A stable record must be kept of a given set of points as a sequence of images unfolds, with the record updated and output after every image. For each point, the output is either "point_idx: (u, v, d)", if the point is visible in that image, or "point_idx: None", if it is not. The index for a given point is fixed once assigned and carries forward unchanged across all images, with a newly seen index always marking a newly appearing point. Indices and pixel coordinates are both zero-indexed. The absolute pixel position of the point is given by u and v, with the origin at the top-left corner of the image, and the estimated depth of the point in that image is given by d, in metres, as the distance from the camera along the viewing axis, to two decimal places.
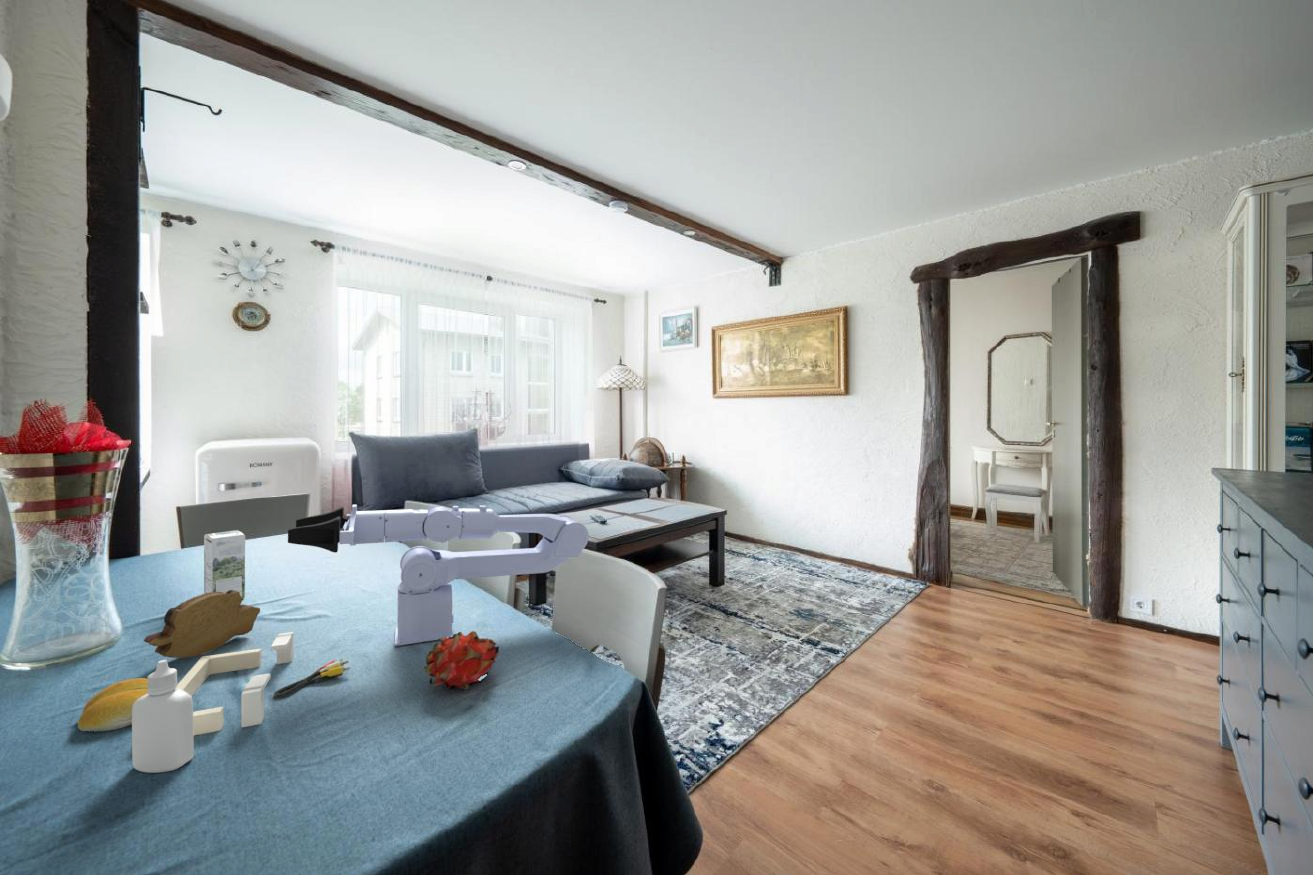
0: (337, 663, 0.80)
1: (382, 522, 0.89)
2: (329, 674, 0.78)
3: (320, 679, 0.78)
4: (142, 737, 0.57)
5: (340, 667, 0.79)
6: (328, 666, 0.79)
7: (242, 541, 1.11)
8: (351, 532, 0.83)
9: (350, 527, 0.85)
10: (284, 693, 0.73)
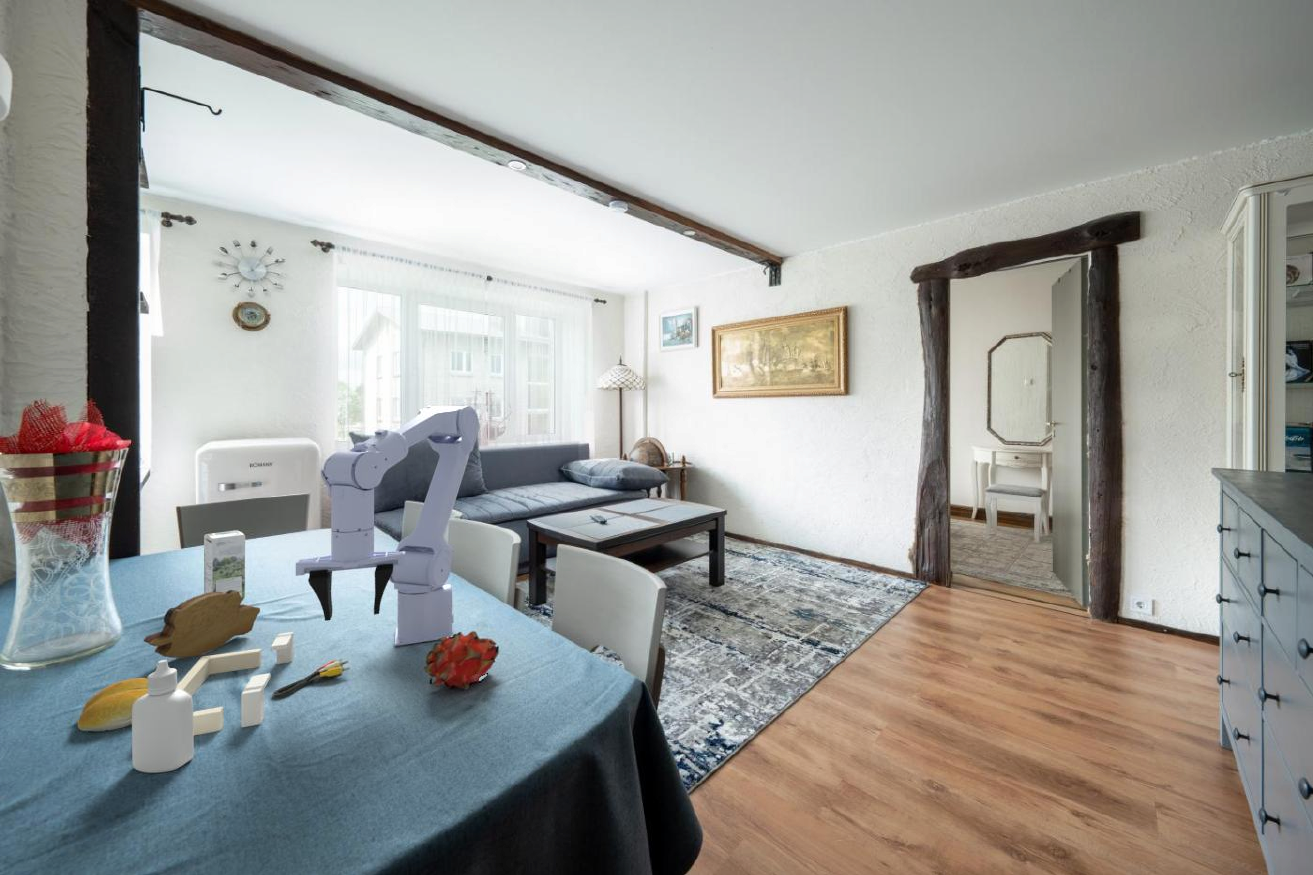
0: (336, 663, 0.79)
1: (371, 530, 0.79)
2: (328, 674, 0.78)
3: (319, 679, 0.78)
4: (142, 737, 0.57)
5: (339, 667, 0.79)
6: (327, 666, 0.79)
7: (242, 541, 1.11)
8: (404, 555, 0.82)
9: (392, 558, 0.81)
10: (283, 693, 0.73)
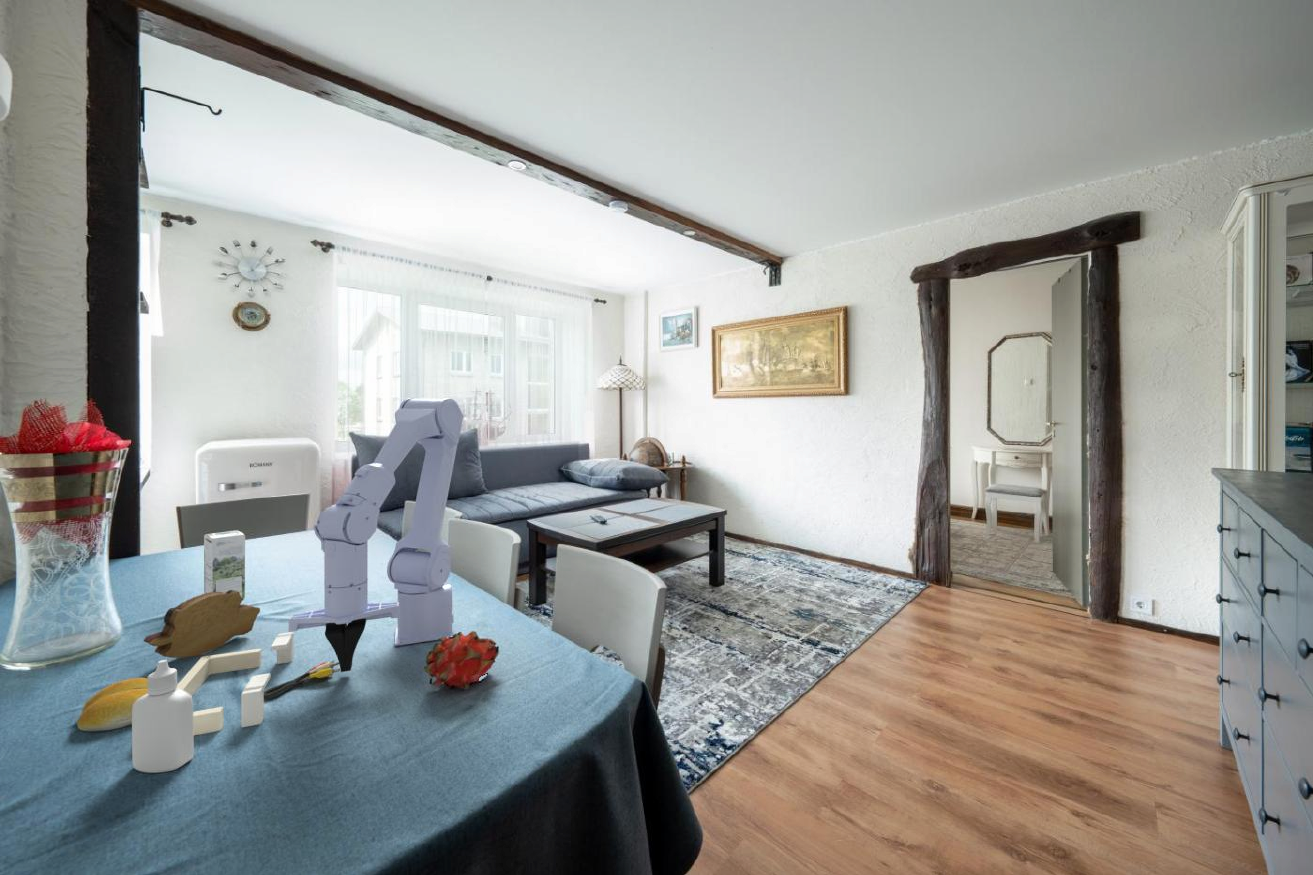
0: (327, 665, 0.79)
1: (364, 584, 0.79)
2: (318, 676, 0.77)
3: (309, 680, 0.77)
4: (142, 737, 0.57)
5: (329, 669, 0.78)
6: (318, 667, 0.78)
7: (242, 541, 1.11)
8: (398, 607, 0.82)
9: (385, 611, 0.81)
10: (271, 694, 0.73)
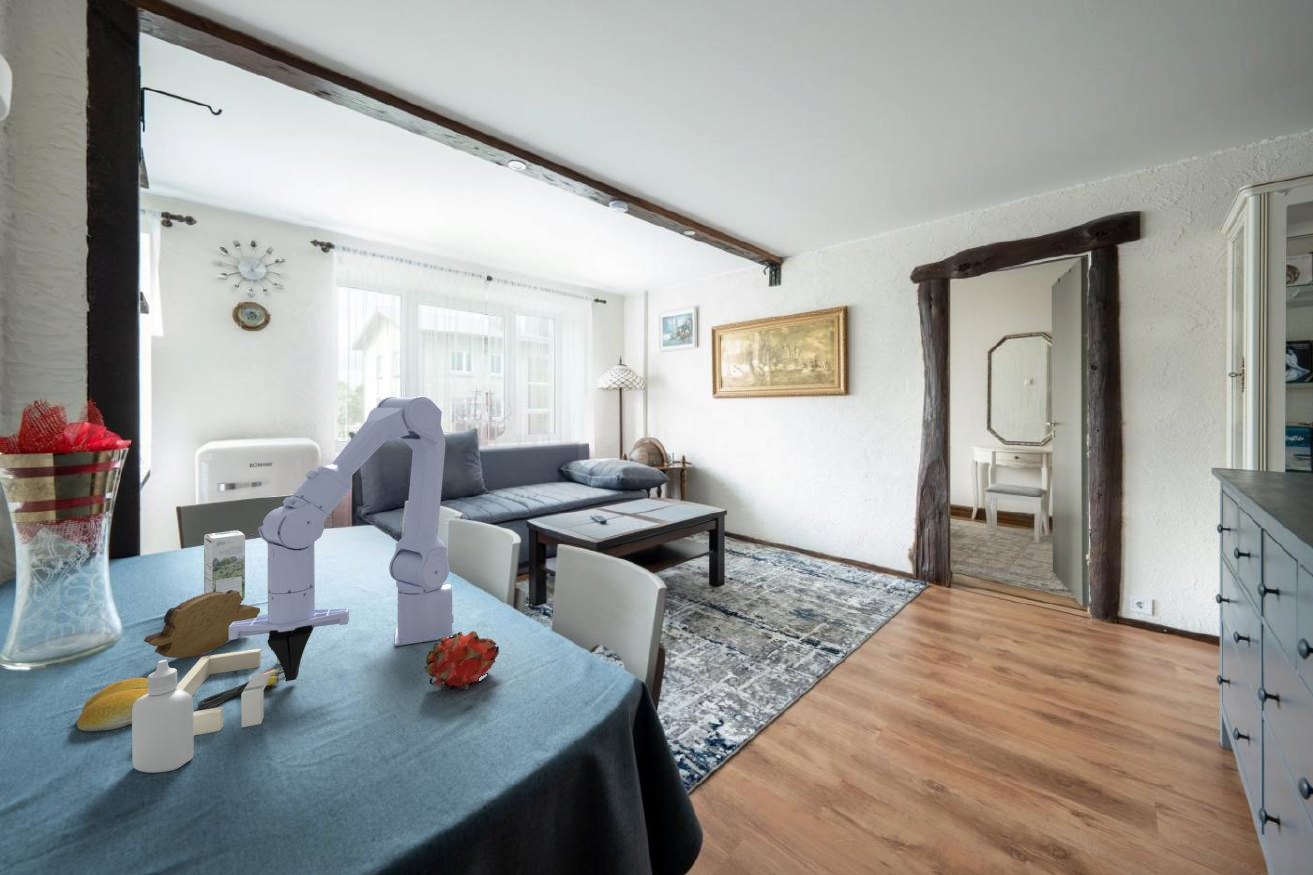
0: (272, 672, 0.76)
1: (310, 590, 0.76)
2: None
3: None
4: (142, 737, 0.57)
5: (273, 677, 0.75)
6: None
7: (242, 541, 1.11)
8: (347, 613, 0.79)
9: (333, 617, 0.78)
10: (208, 703, 0.70)
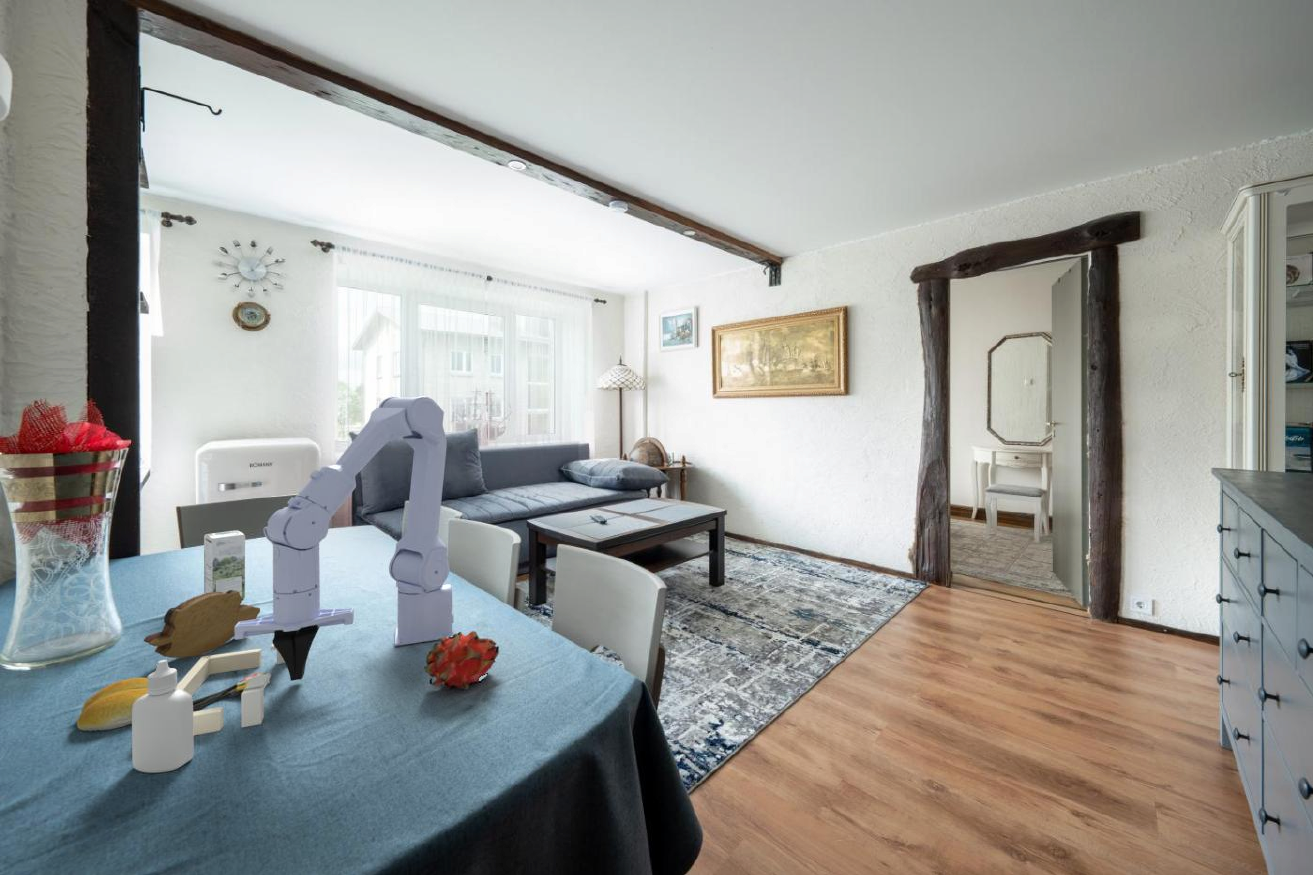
0: None
1: (315, 590, 0.76)
2: None
3: (236, 693, 0.73)
4: (142, 737, 0.57)
5: None
6: (247, 679, 0.74)
7: (242, 541, 1.11)
8: (352, 613, 0.79)
9: (338, 617, 0.78)
10: None
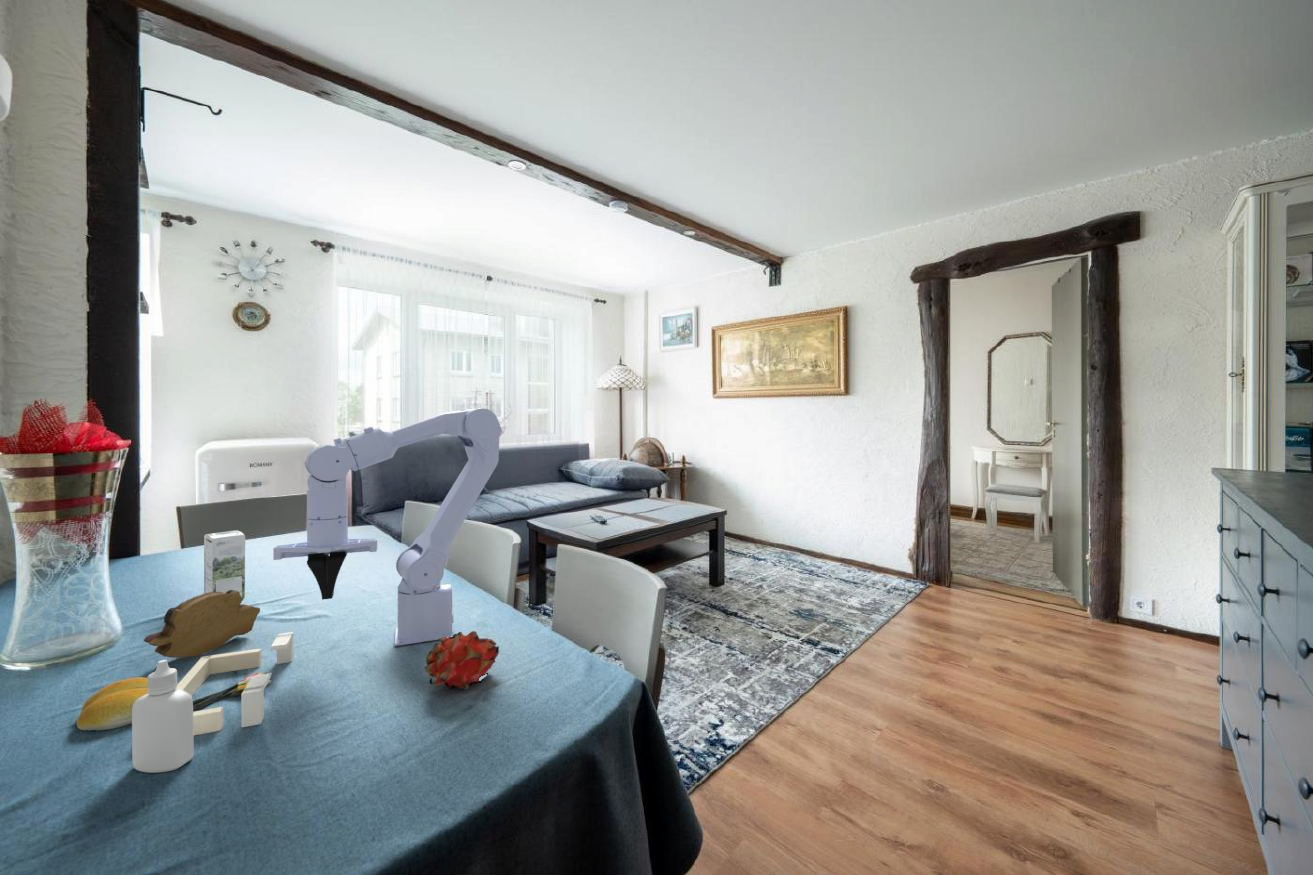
0: None
1: (344, 519, 0.85)
2: None
3: (237, 692, 0.74)
4: (142, 737, 0.57)
5: None
6: (247, 679, 0.75)
7: (242, 541, 1.11)
8: (376, 541, 0.88)
9: (364, 545, 0.87)
10: None
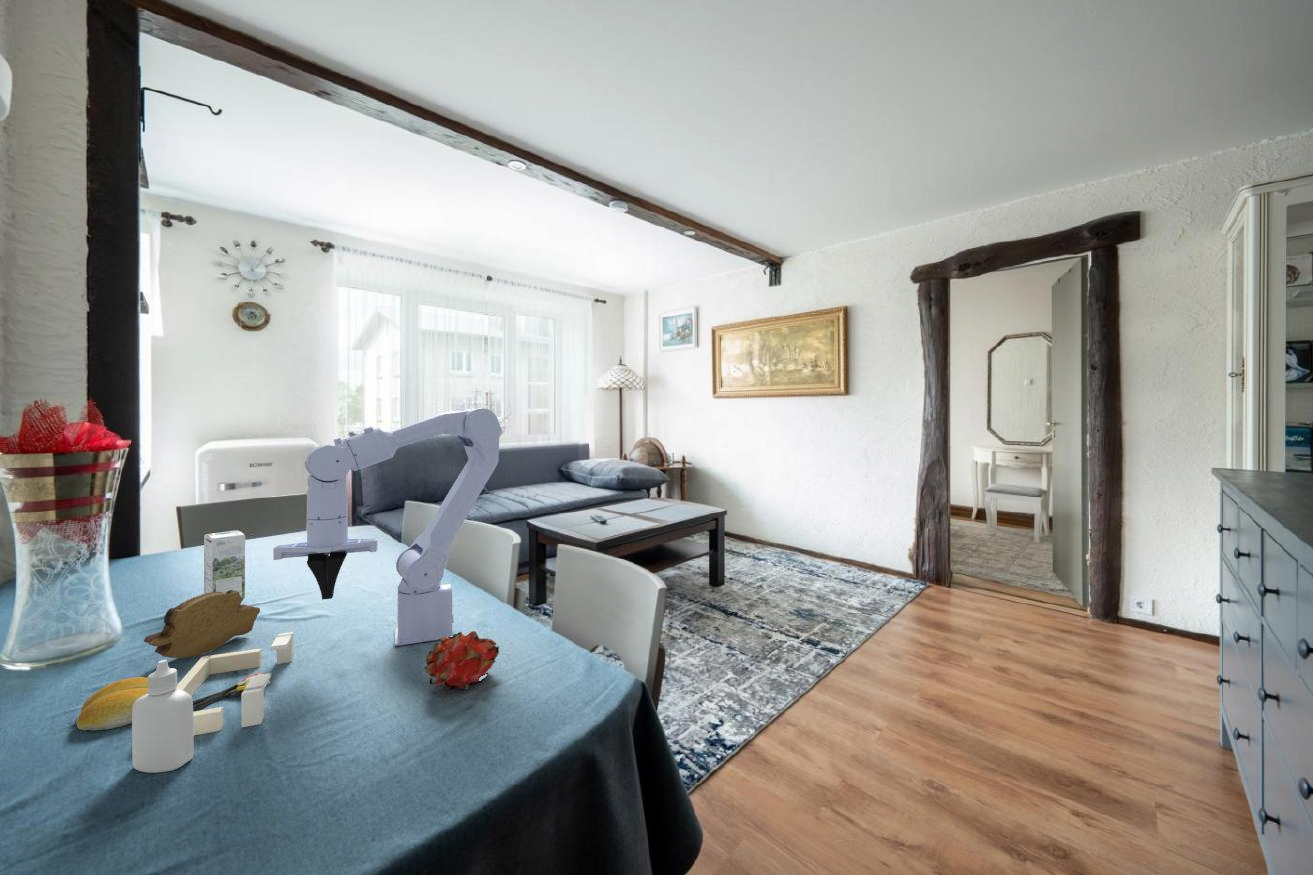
0: None
1: (344, 519, 0.85)
2: None
3: (237, 693, 0.73)
4: (142, 737, 0.57)
5: None
6: (247, 679, 0.74)
7: (242, 541, 1.11)
8: (376, 541, 0.88)
9: (364, 545, 0.87)
10: None
